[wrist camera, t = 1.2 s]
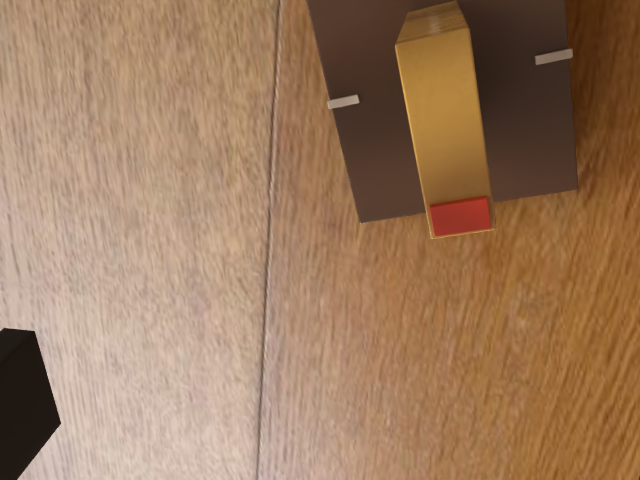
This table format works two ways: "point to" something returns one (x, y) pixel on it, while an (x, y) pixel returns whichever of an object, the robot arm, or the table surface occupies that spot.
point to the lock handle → (445, 120)
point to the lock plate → (493, 88)
